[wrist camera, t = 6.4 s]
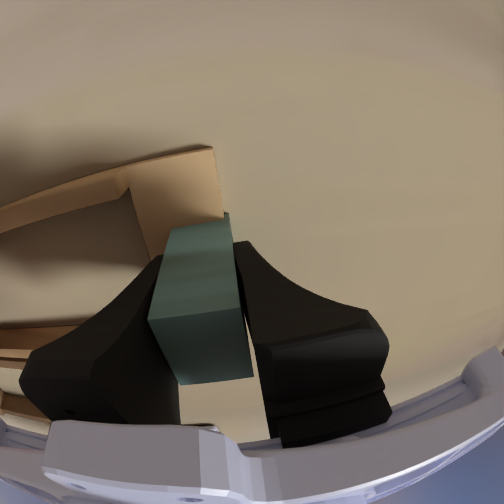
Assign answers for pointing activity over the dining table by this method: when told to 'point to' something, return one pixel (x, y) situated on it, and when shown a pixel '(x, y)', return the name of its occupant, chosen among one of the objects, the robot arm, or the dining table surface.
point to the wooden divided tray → (163, 261)
